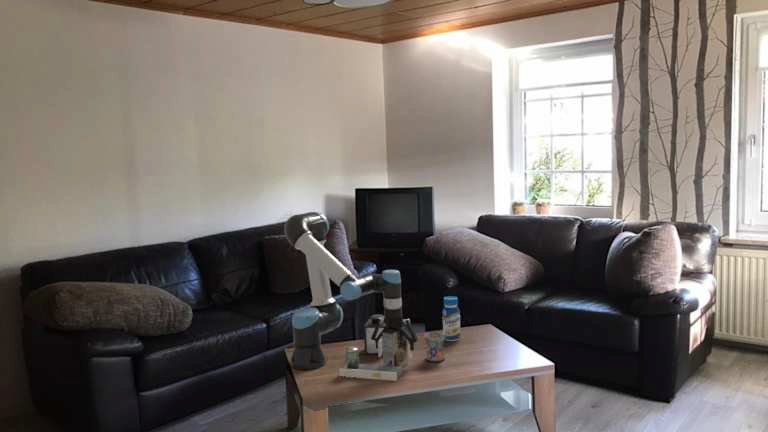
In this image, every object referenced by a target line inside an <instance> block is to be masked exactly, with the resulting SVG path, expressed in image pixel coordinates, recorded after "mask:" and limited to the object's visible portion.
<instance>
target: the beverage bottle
mask: <svg viewBox="0 0 768 432" xmlns="http://www.w3.org/2000/svg"><path fill="white" fill-rule="evenodd" d="M443 305H444V306H443V309H442V317H441V319H442V333H443V334H445V338H444V341H447V342H455V341H456V342H457V341H459V340H460V339H461V338H462V337H461V315H460V313H461V310H460V308H459V307H458V305H459V299H458V297H457V296H453V295H452V296H451V295H448V296H444V297H443Z"/></svg>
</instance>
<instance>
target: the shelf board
mask: <svg viewBox="0 0 768 432" xmlns="http://www.w3.org/2000/svg"><path fill="white" fill-rule="evenodd" d="M338 369H339V371H338V372H339V374H338V375H339V377H341V376H343V377H344V376H345V378H354V377H356V379H368V380H382V381H383V380H384V381H396V382H397V381H398V379H399V378H400V377H401V376H402V374H403V373H404V366H403V367H393V366H383V365H375V364H362V363H359V368H358V369H347V364H345V366H344V367H343V368H342V367H340V368H338ZM343 377H342V378H343Z"/></svg>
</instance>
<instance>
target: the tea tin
mask: <svg viewBox="0 0 768 432" xmlns="http://www.w3.org/2000/svg"><path fill="white" fill-rule="evenodd" d="M359 351H360V350H359V347H357V346H348V347H346V348H345V354H346V357H345V358H346V365H347V369H358V368H359V364H360V359H359V354H360V353H359Z"/></svg>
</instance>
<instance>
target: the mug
mask: <svg viewBox="0 0 768 432" xmlns="http://www.w3.org/2000/svg"><path fill="white" fill-rule="evenodd" d="M423 338H424V340H425V344H426V354H425V357H424V358H425V360H427V361H429V362H441V361H443V360H445V359H446V356H445V354H444V350H443V349H444V347H443V346H444V341H445V340H444V338H445V334H443V332H439V331H438V332H437V331H436V332H435V331H433V332H427V333H424V334H423Z"/></svg>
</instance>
